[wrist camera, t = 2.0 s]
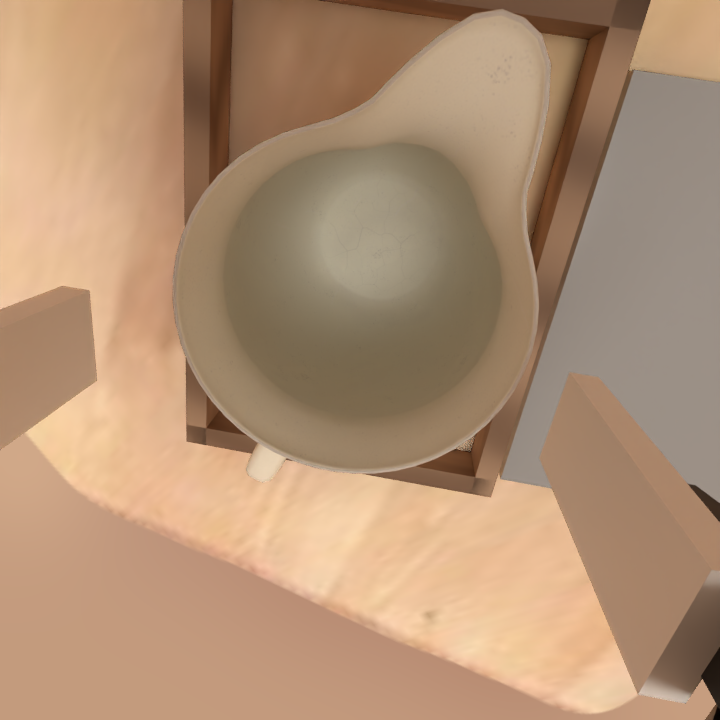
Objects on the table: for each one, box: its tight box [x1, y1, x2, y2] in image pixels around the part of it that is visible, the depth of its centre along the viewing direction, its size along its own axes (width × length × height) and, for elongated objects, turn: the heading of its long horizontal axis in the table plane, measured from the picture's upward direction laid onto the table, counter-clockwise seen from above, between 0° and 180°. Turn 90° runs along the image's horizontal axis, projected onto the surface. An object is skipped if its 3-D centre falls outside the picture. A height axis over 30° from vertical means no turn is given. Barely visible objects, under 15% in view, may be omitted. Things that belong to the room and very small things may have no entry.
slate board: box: [499, 70, 720, 503], centre depth 25 cm, size 22×16×1 cm
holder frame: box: [183, 0, 651, 497], centre depth 25 cm, size 24×18×2 cm
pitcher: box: [173, 9, 551, 483], centre depth 20 cm, size 11×18×14 cm, turn 152°
